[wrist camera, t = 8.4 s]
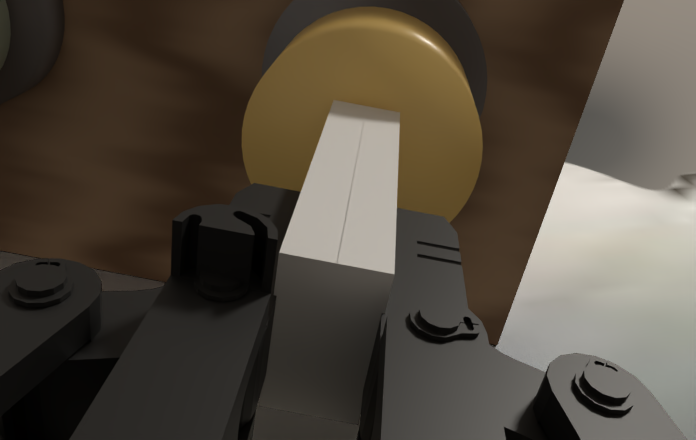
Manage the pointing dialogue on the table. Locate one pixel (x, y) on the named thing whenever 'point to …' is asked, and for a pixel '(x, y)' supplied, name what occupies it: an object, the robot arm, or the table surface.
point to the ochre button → (374, 91)
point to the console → (228, 114)
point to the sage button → (4, 31)
